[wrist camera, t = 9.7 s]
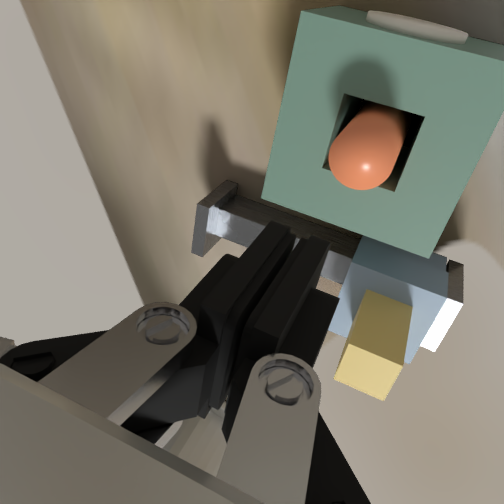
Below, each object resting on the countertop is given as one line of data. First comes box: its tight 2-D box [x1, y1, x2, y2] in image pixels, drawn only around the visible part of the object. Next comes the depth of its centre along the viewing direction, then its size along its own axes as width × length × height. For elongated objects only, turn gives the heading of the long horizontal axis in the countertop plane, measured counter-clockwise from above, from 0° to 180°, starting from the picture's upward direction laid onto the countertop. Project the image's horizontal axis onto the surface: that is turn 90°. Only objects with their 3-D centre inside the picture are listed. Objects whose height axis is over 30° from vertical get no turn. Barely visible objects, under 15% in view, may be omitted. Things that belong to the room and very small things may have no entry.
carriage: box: [328, 235, 449, 401], centre depth 29 cm, size 6×6×11 cm
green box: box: [261, 6, 504, 259], centre depth 25 cm, size 10×10×8 cm
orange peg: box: [329, 101, 411, 190], centre depth 23 cm, size 3×3×8 cm
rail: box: [191, 180, 464, 351], centre depth 33 cm, size 4×19×5 cm, turn 79°
